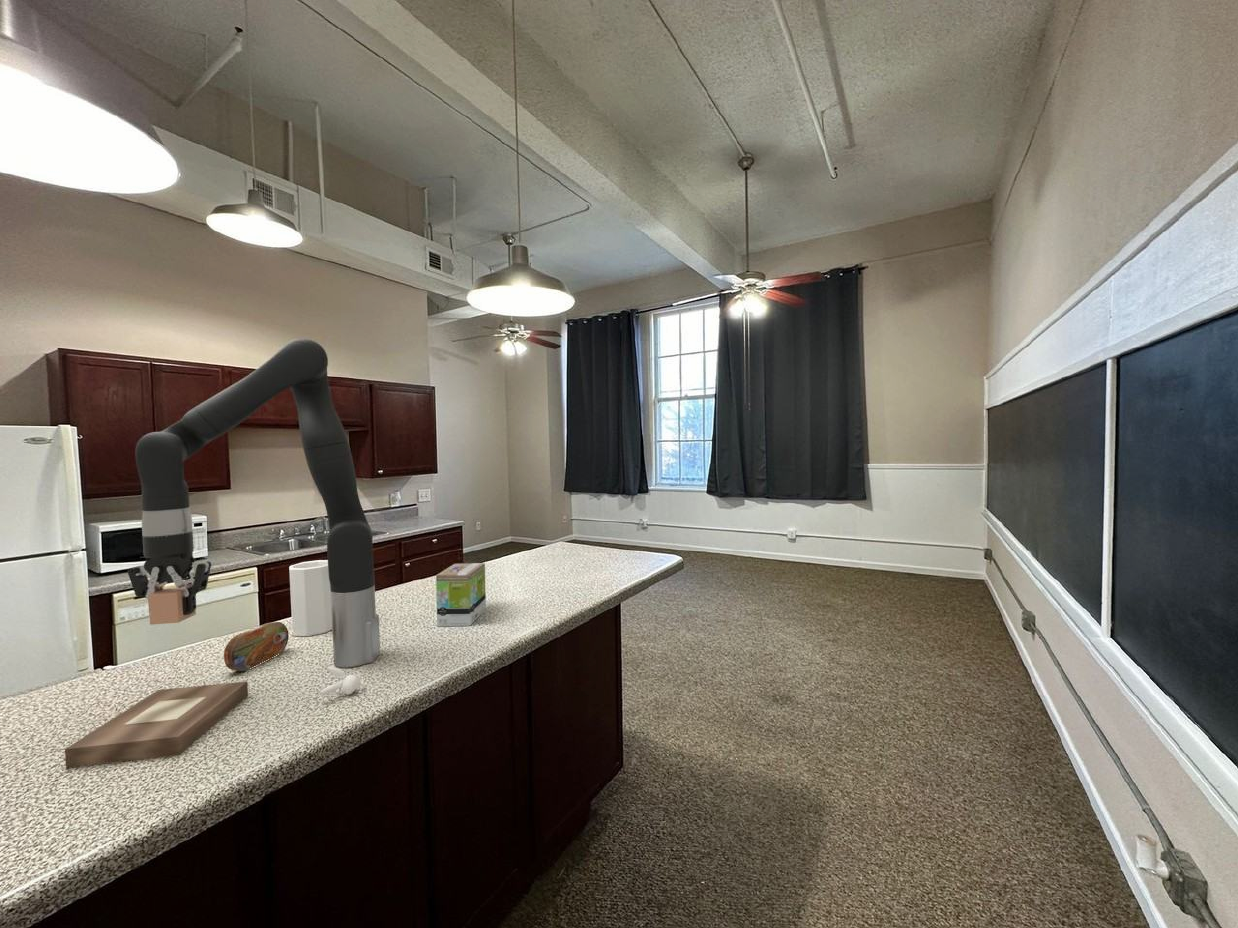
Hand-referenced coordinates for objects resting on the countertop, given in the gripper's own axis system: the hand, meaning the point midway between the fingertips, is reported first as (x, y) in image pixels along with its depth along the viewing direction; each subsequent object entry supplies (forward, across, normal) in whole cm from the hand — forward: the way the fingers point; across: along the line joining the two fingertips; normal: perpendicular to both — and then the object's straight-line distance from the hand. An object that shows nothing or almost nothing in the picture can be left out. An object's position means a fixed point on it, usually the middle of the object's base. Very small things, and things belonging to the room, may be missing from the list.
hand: (173, 614), depth 101 cm
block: (+1, 0, 0) cm, 1 cm away
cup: (+18, -10, -37) cm, 42 cm away
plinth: (+17, -6, +12) cm, 22 cm away
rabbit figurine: (+18, -33, +5) cm, 38 cm away
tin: (+18, -6, -16) cm, 25 cm away
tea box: (+18, -50, -38) cm, 65 cm away
